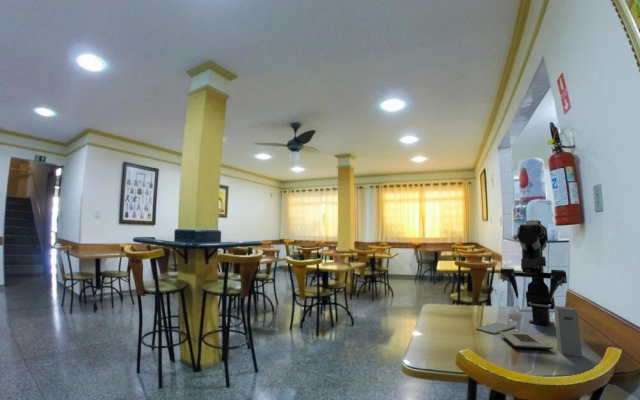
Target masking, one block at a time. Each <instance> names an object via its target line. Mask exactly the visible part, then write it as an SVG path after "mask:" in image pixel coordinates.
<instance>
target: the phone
mask: <svg viewBox="0 0 640 400" xmlns="http://www.w3.org/2000/svg"><path fill="white" fill-rule="evenodd" d="M515 328H516V327H515V326H513V325H510V324H509V325H508V324H504V323H500V322H494V323H490V324H487V325H483V326H480V327H476V328H475V330H476V331H480V332H483V333H487V334H491V335H494V336H495V335H498V334H500V333H499V332H509V331H511V330H514V329H515Z"/></svg>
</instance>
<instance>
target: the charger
mask: <svg viewBox="0 0 640 400" xmlns="http://www.w3.org/2000/svg"><path fill="white" fill-rule="evenodd" d="M553 311H554V324H555V333H556V343H557V345H556V346H557V351H560V352H559V353H560V354H561V355H565V356H572V357H574V356H575V357H583V355H582V354H583V353H582V352H583V351H582V344H581V332H580V323H579V311H578V310H577V309H576V308H574V307H572V306H571V307H570V306H557V305H555V306H554V309H553Z"/></svg>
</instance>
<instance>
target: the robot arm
mask: <svg viewBox="0 0 640 400" xmlns="http://www.w3.org/2000/svg"><path fill="white" fill-rule="evenodd" d="M525 222H526V223H521V224H520V225H519V227H517V232H516V237H517V239H518V241H519V244H520V246H521V259H520V260H521V261H520V269H521V270H515V269H514V267H508V266H507V267H506V266H502V267H501V268H500V275H501V277H502V279H503V280H506V282H510V284H511V287H512V289H513V292H514V294H515V297H516V299H519V289H518V284H517V279H516V278H517V277H520V278H531V281H530V282H528V284H527V290H526V291H525V300H526V307H527V308H531V318H532V319H531V320H528V323H531V324H536V325H539V326H544V327H549V326H551V325H554V324H555V321H551V319H550V318H551V317H550V310H552V311H554V306H556V301H555V297H554V296H555V293H556V291H557V289H558V287H559V286H563V284H567V283H568V279H567V272H566V271H565V270H564V269H563V270H561V269H551V270H550V272H544V271H545V270H544V267H546V266H547V261H546V260H547V259H546V256H543V251H544V250H545V248H547V242H548V241H549V236H548V235H549V234H548V228H547V227H545V226H544V225H543V224H542V222H541V220H537V219H536V220H535V219H534V220H532V219H531V220H526V221H525ZM545 279H547V280H548V279H549V280H550V282H549V286H548V284H547V283H545Z"/></svg>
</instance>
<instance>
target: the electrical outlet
mask: <svg viewBox="0 0 640 400" xmlns="http://www.w3.org/2000/svg"><path fill="white" fill-rule="evenodd" d="M498 334H500V335H501V336H502V337H504V338H505V340H506V341H508V342H509V343H511V344H512V345H513V347H515V348H517V349H533V350H553V349H554V346H553V345H551V344H549V343H548V342H547V341H546V340H544V339H542V338H541V337H539V336H538V335H536V334H534V333H533V332H516V331H515V332H513V331H504V332H499V333H498Z"/></svg>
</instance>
